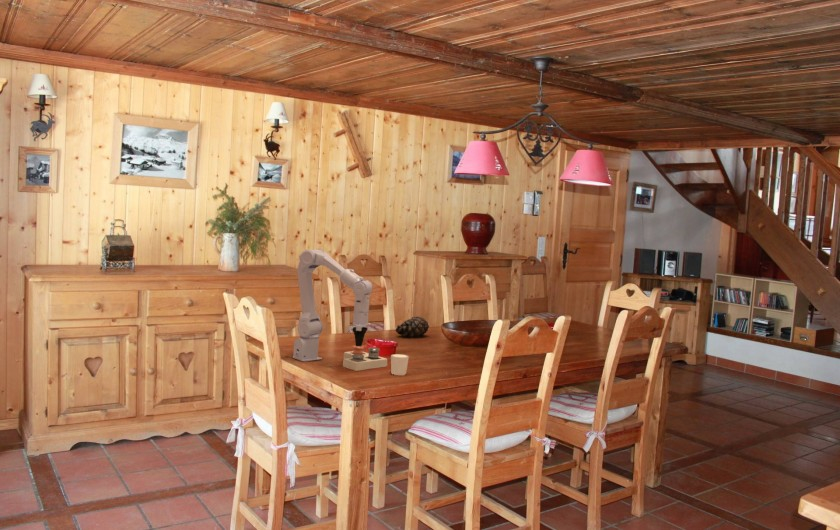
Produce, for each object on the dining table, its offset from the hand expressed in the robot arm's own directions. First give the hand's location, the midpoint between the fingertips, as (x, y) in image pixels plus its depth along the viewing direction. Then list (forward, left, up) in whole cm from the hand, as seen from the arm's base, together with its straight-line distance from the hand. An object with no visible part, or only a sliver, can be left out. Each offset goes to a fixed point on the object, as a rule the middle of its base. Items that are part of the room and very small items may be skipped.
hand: (358, 346), depth 278 cm
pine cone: (+67, +38, -9) cm, 78 cm away
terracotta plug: (+8, +9, -7) cm, 14 cm away
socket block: (+4, +5, -9) cm, 11 cm away
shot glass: (+8, -15, -9) cm, 19 cm away
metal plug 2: (+8, 0, -6) cm, 10 cm away
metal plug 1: (0, 0, -8) cm, 8 cm away
